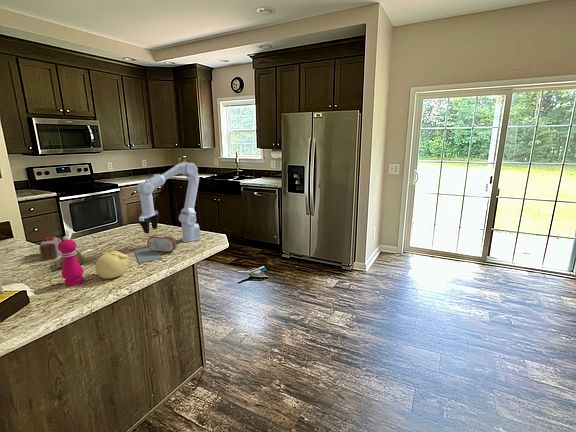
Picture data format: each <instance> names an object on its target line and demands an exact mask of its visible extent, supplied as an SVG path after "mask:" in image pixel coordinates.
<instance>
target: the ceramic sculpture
mask: <svg viewBox="0 0 576 432" xmlns="http://www.w3.org/2000/svg"><path fill="white" fill-rule="evenodd" d="M75 250H76V259H77V261H78V263H79V264H83V263H85V261H86V260H85V256H84V255H82V250H80V249H79V247H77V246H76V249H75ZM56 265H57V268H63V265H64V259H63V257H62V256H61V257H60V258H59V259H58V260H57V262H56Z"/></svg>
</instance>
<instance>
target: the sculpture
mask: <svg viewBox="0 0 576 432" xmlns="http://www.w3.org/2000/svg"><path fill="white" fill-rule="evenodd" d="M129 262H130V260H129V255H128V254H125V253H123V252H120V251H118V250H112V251H111V250H110V251H105V252H104V253H102V255H100V256H99V257H98V258H97V260H96V261H95V267H94V268H95V272H96V274H97V275H98V276H99V277H100V278H102V279H105V280H106V279H107V280H108V279H113V278H117V277H120V276H123V275H124V274H125V272H126V271H127V269H128V266H129V264H130V263H129Z"/></svg>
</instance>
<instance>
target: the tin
mask: <svg viewBox="0 0 576 432" xmlns="http://www.w3.org/2000/svg"><path fill="white" fill-rule="evenodd" d="M146 245H147V248H149V249H151V250H152V251H158V252H159V253H161V252H162V253H171V252H173V251H174V250H176V248H177V246H178V243H177V240H176V239H175V238H174V237H173V236H172V235H163V234H162V235H160V234H153V235H151V236H150V237H148V239H147V241H146Z"/></svg>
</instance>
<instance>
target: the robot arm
mask: <svg viewBox="0 0 576 432" xmlns="http://www.w3.org/2000/svg"><path fill="white" fill-rule="evenodd" d="M198 170H199V168H198V167H197V165H196V164H195V163H194V162H185V161H184V162H183V161H182V162H179V163H177V164H176V165H174V166H173V167H171V168H170V169H169V170H167V171H165V172H164V173H162V174H159V173H158V174H156V173H155V174H153V175H152V176H151V177H150V178H148V179H145V180H144V181H142V182H140V183H138V184H137V187H136V190H137V192H138V193H139V198H140V206H141V214H140V216H139V217H138V220H137V223H138V224H139V225H140V226H141V229H142V230H143V233H144V234H150V224H151V228H152V229H153V230H157V229H158V222H159V219H160V217H161V215H160V214H159V211H158V210H155V205H154V199H153V192H154V190H156V189H158V188H159V187H161V186H163V185H164V184H165V182H166V181H167V180H168V179H171V178H173V177H174V176H176V175H178V174H179V175H181V174H182V175H184V177H186V179H187V180H188V183H187V190H186V193H185V194H186V195H185V201H184V207H183V208H182V209H181V211H180V213H179V215H178V221H179V222H180V223H181V225H180V226H181V235H182V237H181V238H180V239H181V240H182V242H183V243H188V242H194V241H200V240H201V231H200V229H201V228H200V225H199V223H197V215H196V214H197V212H196V211H195V206H196V202H197V201H196V199H197V194H198V188H199V183H200V175H199V172H198ZM148 219H149V220H148Z"/></svg>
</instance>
